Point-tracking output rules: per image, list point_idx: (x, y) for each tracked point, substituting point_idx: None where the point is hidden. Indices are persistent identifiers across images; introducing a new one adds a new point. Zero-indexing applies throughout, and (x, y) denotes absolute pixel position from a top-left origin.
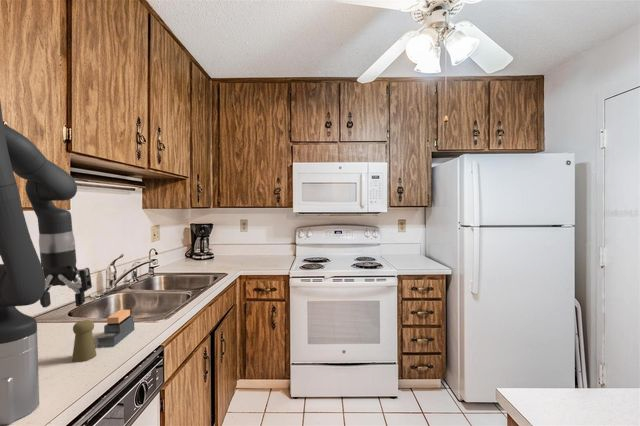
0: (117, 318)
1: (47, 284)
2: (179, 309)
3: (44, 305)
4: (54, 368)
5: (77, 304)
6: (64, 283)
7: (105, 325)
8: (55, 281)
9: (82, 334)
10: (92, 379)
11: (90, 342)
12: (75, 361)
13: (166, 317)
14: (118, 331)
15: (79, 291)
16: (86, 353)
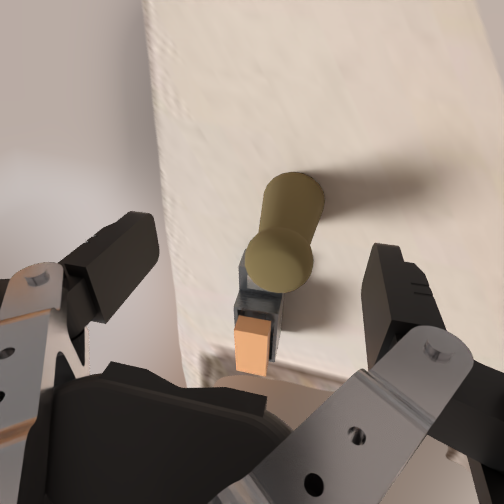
0: (237, 327)
1: (312, 425)
2: (203, 387)
3: (380, 248)
4: (351, 141)
5: (128, 216)
6: (88, 389)
7: (276, 316)
8: (192, 459)
9: (272, 227)
10: (181, 34)
11: (261, 218)
12: (304, 175)
13: (208, 361)
14: (242, 293)
15: (17, 273)
16: (272, 189)
